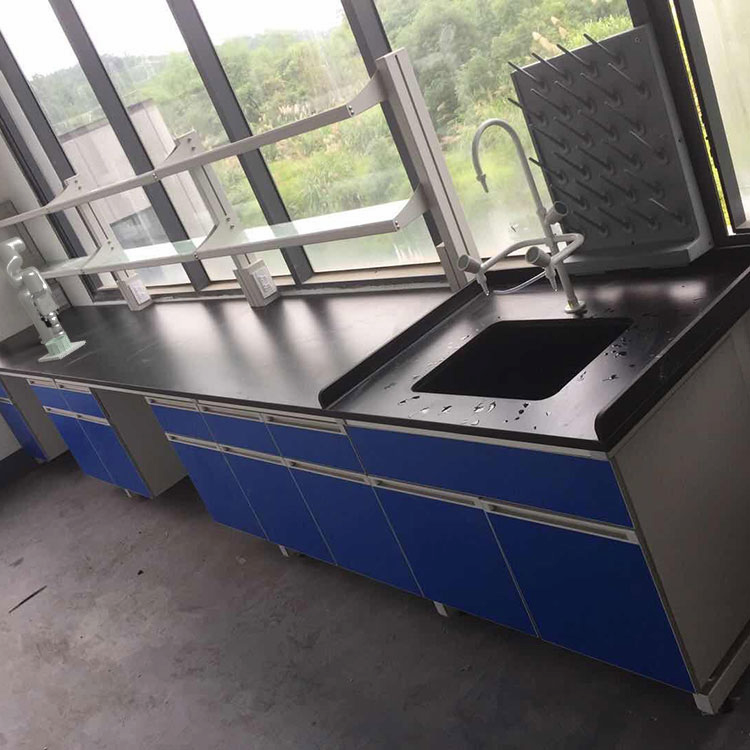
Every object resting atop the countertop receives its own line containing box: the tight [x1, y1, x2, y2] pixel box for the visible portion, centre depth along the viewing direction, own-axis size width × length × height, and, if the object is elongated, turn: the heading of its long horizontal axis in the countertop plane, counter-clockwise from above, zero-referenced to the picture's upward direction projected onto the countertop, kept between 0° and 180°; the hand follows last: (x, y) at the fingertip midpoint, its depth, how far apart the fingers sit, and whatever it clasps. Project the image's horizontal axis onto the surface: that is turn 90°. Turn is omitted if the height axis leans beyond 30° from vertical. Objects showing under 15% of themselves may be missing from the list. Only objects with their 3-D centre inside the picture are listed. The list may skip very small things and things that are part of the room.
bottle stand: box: [37, 335, 87, 363], centre depth 414 cm, size 18×18×8 cm
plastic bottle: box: [47, 312, 68, 338], centre depth 429 cm, size 6×7×20 cm
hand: (54, 324), depth 429 cm, fingers closed on plastic bottle, 6 cm apart
